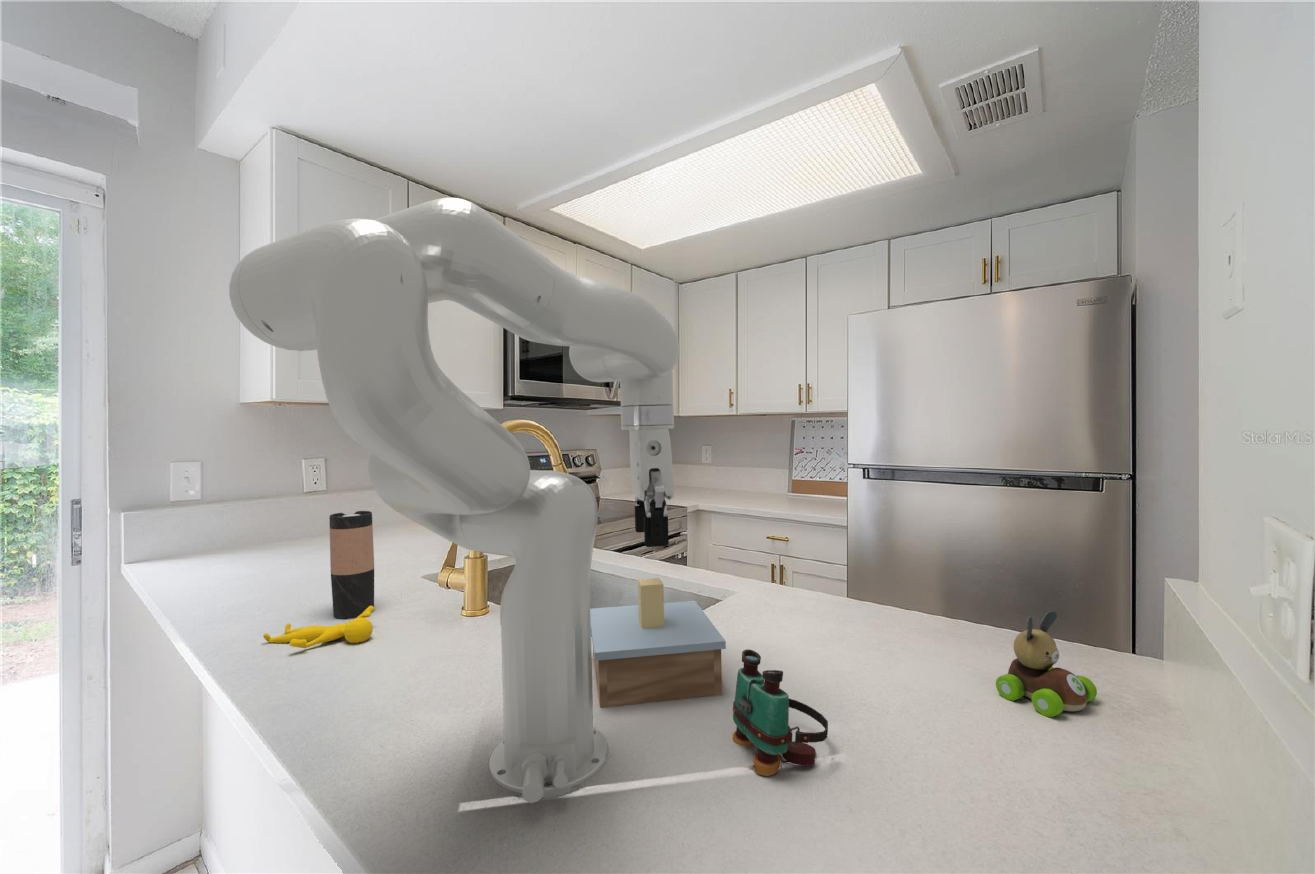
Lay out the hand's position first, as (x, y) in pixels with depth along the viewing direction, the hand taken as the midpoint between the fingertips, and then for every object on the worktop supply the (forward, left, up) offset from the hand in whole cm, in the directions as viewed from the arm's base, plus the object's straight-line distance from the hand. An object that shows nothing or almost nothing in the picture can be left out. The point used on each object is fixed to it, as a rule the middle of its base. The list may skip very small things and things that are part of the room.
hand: (651, 538), depth 79 cm
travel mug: (+41, +54, -20) cm, 71 cm away
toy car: (-17, -49, -21) cm, 55 cm away
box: (0, 0, -20) cm, 20 cm away
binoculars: (-20, -11, -20) cm, 31 cm away
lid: (0, 0, -13) cm, 13 cm away
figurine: (+27, +55, -21) cm, 64 cm away
